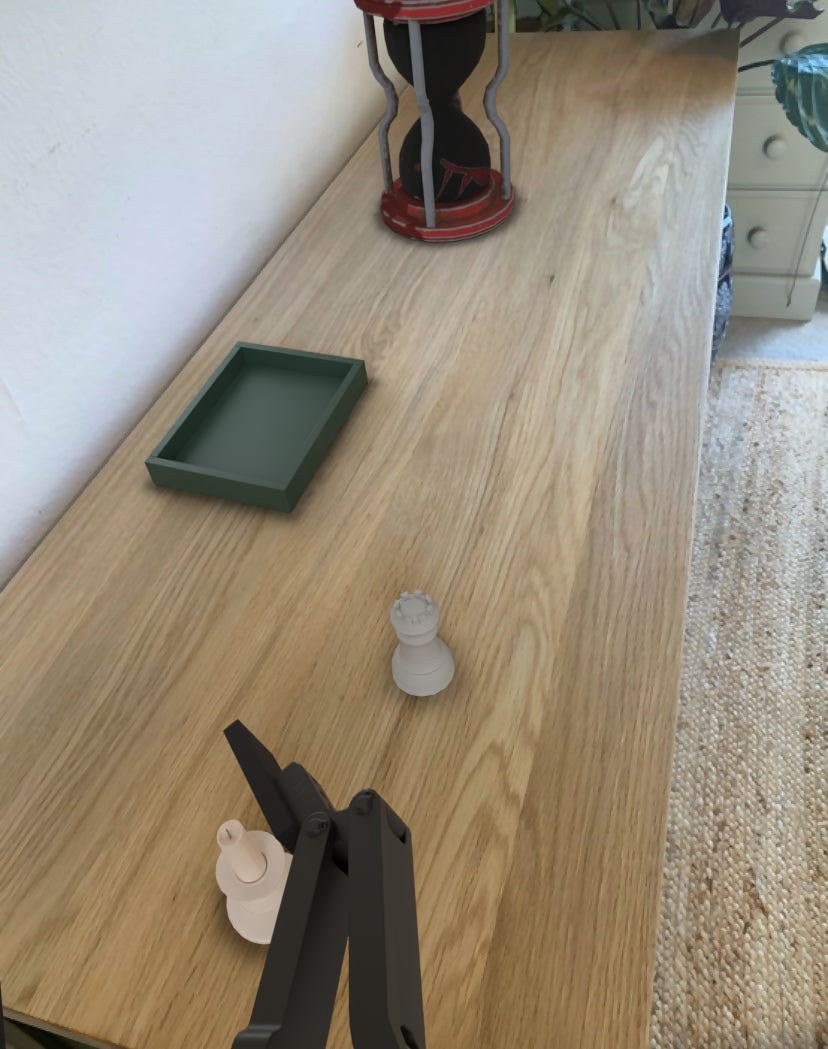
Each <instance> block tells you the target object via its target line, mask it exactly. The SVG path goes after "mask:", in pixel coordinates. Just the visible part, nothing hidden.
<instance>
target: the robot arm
mask: <svg viewBox="0 0 828 1049" xmlns="http://www.w3.org/2000/svg"><path fill="white" fill-rule="evenodd" d="M222 732H223V734H224V736H225V738H226V740H227V743H228V745H229V747H230V749H231V751H232V753H233V755H234V757H235V759H236V761H237V763H238V765H239V767H240V769H241V771H242V773H243V775H244V778H245V779H246V781H247V783H248V786H249V787H250V788H249V789H250V790H251V792H252V794H253V796H254V798H255V800H256V802H257V804H258V806H259V808H260V810H261V813H262V814H263V816H264V819H265V820H266V822H267V825H268V826H269V829H270V831H271V832H272V835H273V836H274V837H275V839H276V840H278V841H279V842H280V844H281V846H282V847H283V848H285V849H286V850H287V851H288V852H289V853H290V854H291V855H293V858H292V862H291V866H290V869H289V873H288V877H287V881H286V885H285V888H284V892H283V896H282V900H281V904H280V907H279V911H278V915H277V919H276V923H275V926H274V930H273V934H272V938H271V942H270V944H268V945H269V947H268V950H267V954H266V957H265V961H264V965H263V968H262V972H261V976H260V980H259V984H258V988H257V991H256V996H255V999H254V1002H253V1006H252V1010H251V1014H250V1018H249V1021H248V1024H247V1026H246V1027H245V1028H243V1029H242V1030H240V1031H239V1032H237V1033H236V1035H235V1036H234V1038H233V1041H232V1043H231V1047H230V1049H327V1044H328V1039H329V1034H330V1029H331V1024H332V1020H333V1019H332V1018H333V1016H334V1015H333V1014H334V1009H335V1005H336V1000H337V994H338V990H339V985H340V979H341V974H342V970H343V965H344V964H343V963H344V959H345V956H346V955H345V954H346V949H347V944H348V1023H349V1031H350V1039H351V1044H352V1049H427V1044H426V1027H425V1016H424V1013H425V1012H424V1001H423V1000H424V999H423V986H422V984H423V983H422V970H421V957H420V955H421V954H420V942H419V941H420V940H419V926H418V913H417V912H418V911H417V897H416V883H415V882H416V880H415V868H414V867H415V866H414V853H413V840H412V839H413V838H412V831H411V829H410V828H409V826H408V825H407V824H406V823H405V822H404V821H403V819H402V818H401V817H400V816H399V814H397V812H396V811H395V810H394V809H393V808H392V807H391V806H390V805H389V803H388V802H386V800H385V799H384V798H383V797H382V796H381V795H380V794H379V793H378V792H377V791H376V790H375V789H373V788H364V789H361V790H360V791H358V792H357V793H356V794H354V796H352V798H351V799H350V802H349V804H348V806H347V807H345V808H342V809H340V810H336V808H335V806H334V804H333V803H332V802H331V800H330V798H329V796H328V795H327V793H326V791H325V790H324V788H323V786H322V784H320V782H318V781H317V779H316V778H315V777H314V776H313V775H312V774H311V773H310V772H309V771H308V770H307V769H306V768H305V767H304V766H303V764H300V763H298V762H296V761H294V760H292V761H291V762H290V763H289V764H287V765H286V766H285V767H284V768H283V769H282V768H281V767H280V765H279V763H278V761H277V759H276V757H275V755H274V754H273V753H272V752H271V750H269V749H268V748H267V746H265V744H264V743H262V742H261V741H260V740H259V738H258V737H256V736H255V734H253V733H252V732H251V731H250V729H249V728H248V727H246V725H245V724H243V722H242V721H241V720H240V719H239V718H236V719H235V720H234V721H233V722H231V723H230V724H229V725H228V726H227V727H225V728H224V729H223V730H222ZM1 982H2V981H0V1049H7V1044H6V1032H5V1021H4V1020H5V1018H4V1010H3V1009H4V1007H3V996H2V985H1V984H2V983H1Z"/></svg>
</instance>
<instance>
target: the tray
mask: <svg viewBox="0 0 828 1049" xmlns="http://www.w3.org/2000/svg"><path fill="white" fill-rule="evenodd" d="M367 373H368V372H367V368H366V361H365V359H360V358H354V357H346V356H341V355H335V354H334V355H333V354H327V353H320V352H313V351H307V350H300V349H294V348H286V347H282V346H281V347H280V346H274V345H267V344H261V343H254V342H247V341H241V340H237V341H236V343H235V344H234V345H233V346H232V348H231V349H230V350H229V352H228V353H227V354H226V355H225V357H224V358H223V359H222V361H221V362H220V363H219V364H218V366H217V367H216V368H215V369H214V371H213V372H212V374H210V376H209V377H208V379H207V380H206V382H205V383H203V386H202V387H201V388H200V389H199V391H198V392H197V393H196V395H195V396H194V397H193V398H192V400H191V401H190V402H189V403H188V405H187V406H186V407H185V409H184V410H183V411H182V412H181V414H180V415H179V416H178V418H177V419H176V420H175V421H174V423H173V424H172V425H171V427H169V429H168V431H167V432H166V433H165V435H164V436H163V437H162V438H161V439H160V440H159V442H158V443H157V445H156V446H155V447H154V449H153V450H152V451H151V453H150V454H149V455H148V456H147V457H146V459H145V460H144V465H145V468H146V470H147V471H148V473H149V476H150V478H151V480H152V483H153V484H154V485H156V486H161V487H164V488H168V489H169V488H170V489H174V490H180V491H183V492H189V493H193V494H199V495H203V496H208V497H211V498H217V499H223V500H226V501H232V502H234V503H235V502H236V503H239V504H245V505H249V506H255V507H260V508H264V509H269V510H274V511H277V512H283V513H287V514H292V513H293V511H294V510H295V508H296V506H297V505H298V503H299V501H300V499H301V497H302V496H303V494H304V493H305V491H306V489H307V488H308V486H309V484H310V482H311V481H312V479H313V477H314V475H315V474H316V472H317V471H318V469H319V467H320V466H321V464H322V462H323V461H324V459H325V457H326V455H327V454H328V452H329V450H330V449H331V447H332V445H333V443H334V442H335V440H336V438H337V437H338V435H339V433H340V432H341V430H342V428H343V427H344V425H345V423H346V421H347V420H348V418H349V417H350V415H351V413H352V411H353V410H354V408H355V406H356V405H357V403H358V401H359V399H360V398H361V396H362V394H363V393H364V391H365V389H366V388H367V386H368V384H369V380H368V374H367Z"/></svg>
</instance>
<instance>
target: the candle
mask: <svg viewBox="0 0 828 1049" xmlns="http://www.w3.org/2000/svg"><path fill="white" fill-rule="evenodd" d="M216 842H217V845H218V846H219V849H220V850H221V851H220V853H219V855H218V858H217V861H216V864H215V878H216V879H215V880H216V883H217V885H218V887H219V889H220V891H221V892H222V893H223V895H225V896H226V905H225V906H226V912H227V917H228V919H229V921H230V924H231V925H232V926H233V928H234V930H235V931H236V932H237V933H238V934H239V935H240V936H241V937H242V938H244V939H246V940H247V941H249V942H251V943H255V944H260V945H270V942H271V938H272V934H273V930H274V926H275V923H276V919H277V915H278V911H279V907H280V904H281V900H282V896H283V892H284V888H285V885H286V881H287V877H288V873H289V869H290V866H291V862H292V858H293V854H292V853H290V852H285V850H284V846H283V845H282V844H281V843H280V842H279V841H278V840H276V839H275V837H274V835H273V834H271V833H269V832H267V831H264V830H248V831H247V830H246V829H245V827H244V826H243V825H242V823H241V822H240V821H239V820H237V819H229V820H226V821H225V822H223V823H222V824H221V825H220V826H219V828H218V830H217V834H216Z"/></svg>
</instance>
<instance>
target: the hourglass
mask: <svg viewBox="0 0 828 1049" xmlns="http://www.w3.org/2000/svg"><path fill="white" fill-rule="evenodd" d="M353 2H354V5H355V7H356V8H357V9H359V10H360V11H361V12H362V17H363V26H364V33H365V34H364V35H365V41H366V42H365V43H366V50H367V56H368V66H369V68H370V70H371V73H372V75H373V77H374V79H375V80H376V81H377V83H378V84H379V85H380V86H381V87H382V88H383V92H384V95H385V98H386V112H385V115H384V117H383V118H382V119H381V121H380V122H379V127H378V131H377V137H378V144H379V145H378V146H379V152H380V153H379V154H380V161H381V169H382V170H381V171H382V177H383V185H384V190H383V191H382V194H381V197H380V199H379V207H380V214H381V218H382V220H383V222H384V224H385V225H386V226H387V227H388V228H389V229H390V230H392V231H393V232H394V233H396V234H398V235H401V236H402V237H406V238H408V239H411V240H417V241H423V242H429V243H432V242H433V243H440V242H456V241H461V240H467V239H471V238H476V237H478V236H480V235H483V234H485V233H488V232H490V231H494V229H496V228H497V227H498V226H500V225H501V224H503V223H504V222H505V221H507V219H509V216H510V215H511V214H512V212H513V211H514V208H515V186H514V184H513V183H512V182H511V136H510V134H509V131H508V130H509V129H508V127H507V125H506V124H505V123H504V121H503V120H502V119H501V117H500V116H499V113H498V108H497V104H496V100H497V95H498V88H500V86H501V85H502V83H503V82H504V80H506V78H507V74H508V71H509V68H510V19H509V16H510V15H509V13H510V12H509V8H510V7H509V0H353ZM494 3H496V4H497V5H496V8H497V9H496V12H497V13H496V15H497V16H496V17H497V18H496V20H497V63H498V64H497V67H496V69H495V72H494V75H493V77H492V78H491V80H490V81H489V82H488V83H487V84H486V86H485V88H484V92H483V98H482V106H483V109H484V112H485V116H486V119H487V121H488V122H489V123H490V124H491V125H492V126H493V127H494V128H495V130H496V133H497V136H498V137H499V161H500V163H499V164H500V165H499V167H500V171H498V170H497V169H494V168H492V158H491V157H492V156H491V151H490V146H489V143H488V141H487V139H486V137H485V135H484V134H483V132H482V131H481V129H480V127H479V126H478V125H477V124H476V123H475V122H474V121H473V120H472V119H471V118H470V117H469V116H468V115H467V114H466V113H465V112H463V102H462V97H461V95H460V88H461V87H463V85H464V84H465V83H466V81H467V80H468V79H469V77H471V75H472V74H473V72H474V70H475V69H476V68H477V67H478V65H479V63H480V61H481V58H482V56H483V54H484V51H485V48H486V42H487V32H488V30H487V29H488V21H487V20H488V19H487V18H488V17H487V16H488V14H487V9H486V8H487V7H489V6H490V5H493V4H494ZM375 17H378V18H382V19H383V22H382V28H383V29H382V30H383V38H384V43H385V48H386V51H387V55H388V57H389V59H390V61H391V63H392V65H393V66H394V68H395V69H396V71H397V73H398V74H399V75H400V76H401V77H402V78H403V80H405V81H406V82H407V84H409V85H410V86H411V87H412V88H413V91H414V97H415V102H416V106H417V108H418V110H419V117H418V118H417V119H416V120H415V121H414V123H413V124H412V125H411V127H410V128H409V130H408V132H406V134H405V136H404V137H403V141H402V145H401V146H400V151H399V154H398V175H399V177H397V179H394V178H393V170H392V161H391V153H390V152H391V150H390V144H389V131H390V128H391V124H392V123H393V122H394V121H395V119H396V118H397V117H398V113H399V112H398V111H399V106H400V105H399V103H400V99H399V96H398V93H397V90H396V88H395V84H394V82H393V81H392V80H391V79H390V78H389V77H388V76H387V74H385V72H384V69H383V67H382V66H381V63H380V59H379V50H378V41H377V33H376V26H375Z"/></svg>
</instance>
